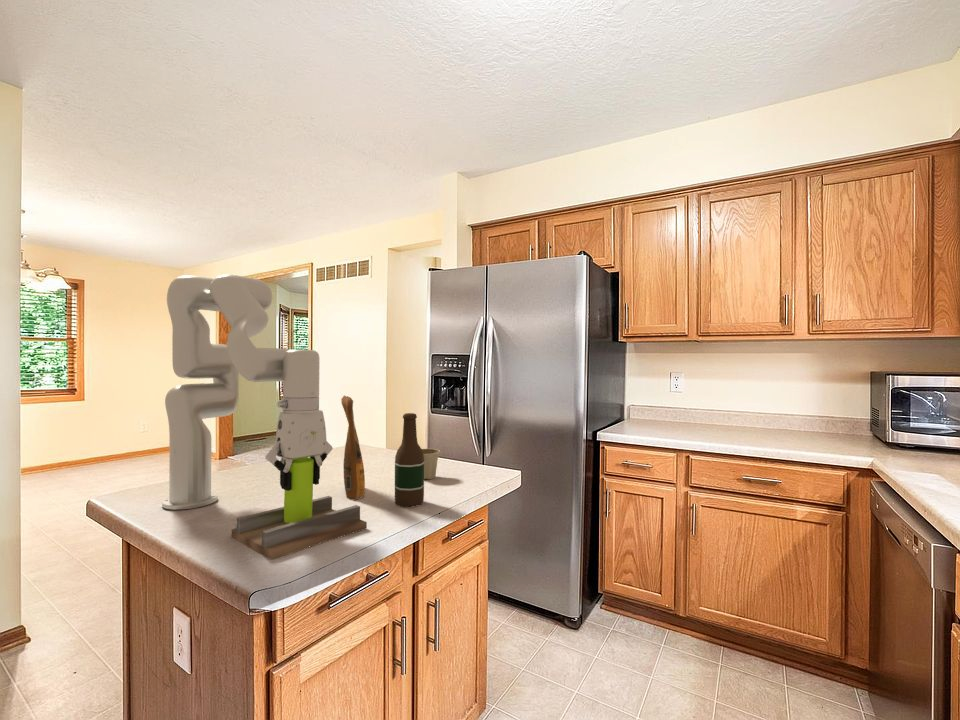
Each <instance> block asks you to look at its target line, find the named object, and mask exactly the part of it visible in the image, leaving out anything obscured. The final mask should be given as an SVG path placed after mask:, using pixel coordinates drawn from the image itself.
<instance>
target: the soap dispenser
mask: <svg viewBox="0 0 960 720" xmlns="http://www.w3.org/2000/svg"><path fill="white" fill-rule="evenodd" d="M314 433H317V432H314V431H312V432H311V434H314ZM313 467H314V459H311V458H309V457H305V458H299V459H293V461H292V463H291V466H290V469H289V472H291V473H292V487H291V490H290V491H287V490H284V498H283V499H284V501H283V507H284V522H286V523H293V522H297V521H300V520H304V519H308V518H311V517H312V502H313V500H314V499H313V498H314V497H313V496H314V495H313V494H314V484H313Z"/></svg>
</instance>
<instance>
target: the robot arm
mask: <svg viewBox="0 0 960 720" xmlns="http://www.w3.org/2000/svg"><path fill="white" fill-rule="evenodd" d="M272 301H273V293H272V289H271V288H270V286H269V285H268V284H267V283H266V282H265V281H263V280H262V279H258V278H253V277H247V276H242V275H238V274H221V275H218V276H216V277H215V278H211V277H205V276H198V275H181V276H178V277H176V278H174V279H173V280H172V281H171V282H170V283H169V286H168V289H167V294H166V304H167V309H168V313H169V318H170V320H171V326H172V328H171V329H172V335H171V337H172V338H171V339H172V340H171V341H172V342H171V343H172V344H171V345H172V353H171V355H172V357H171V358H172V360H171V361H172V369H173V373H174V374H175V375H176V377H178V378H181V379H191V380H192V379H193V380H194V379H197V380H199V379H212V382H211V383H205V382H204V383H203V382H202V383H185V384H179V385H176V386H174V387H172V388H171V389H169V391H167V393H166V395H165V399H164V406H165V410H166V415H167V420H168V421H167V422H168V433H169V464H168V465H169V470H168V471H169V479H168V481H169V483H168V485H169V489H168V492H169V495H168V498H165V499H164V500H163V501H162V502H161V507H162V508H163V509H166V510H172V511H173V510H176V511H177V510H189V509H197V508H201V507H206V506H208V505H212V504H214V503H215V502H217V501H218V499H219V498H218V497H219V496H218V494H217V493H215V492H212V433H211V431H210V429H209V428H208V427H207V425H206V423H205V422H204V421H203V420H205V419H214V418H221V417H222V418H223V417H229V416H230V415H232V414H234V412H236V410H237V409H238V405H239V398H240V397H239V385H240V384H239V382H240V381H239V379H240V377H239V376H242V377H243V378H244V379H245V380H247V381H249V382H253V383H265V382H270V383H271V382H282V384H283V385H282V398H281V400H279V401H277V404H276V406H277V408H278V409H280V408H281V410H282V411H280V412H279V416H278V419H277V424H276V431H275V432H276V433H275V443H274V446H273V447H272V448H271V449H270V450H269V451H268V452H267V454H266V455H265V460H266V461H268V462H269V463H271V464H272V466H274V467H275V468H276V469H277V470H278V472H279V484H280V487H281V489H282V490H283V491H285V490H287V491H290V490H291V487H292V473H291V472H289V469H290V466H291V463H292V461H293V459H299V458H305V457H308V458H311V459H314V467H313V485H315V486H316V485H320V484H319V483H320V479H321V466H322V465H323V463H324V461H325V460H326V459H327V458H328V455H329V454H330V453H331V452H332V451H333V449H334V447H333V446H332V444H330V443H329V442H328V441H327V429H326V428H327V427H326V421H325V416H324V412H323V410H322V409H320V354H319V352H318V351H316V350H314V349H292V348H291V349H289V348H275V347H274V348H272V347H256V346H255V344H254V343H253V342H252V340H251V338H253V337H255V336H256V335H258V334H260V333H261V332H262V331H264V330H265V328H266V327H267V325H268V323H269V315H268V314H267V311H266V310H268V309H269V308H270V306H271V304H272ZM201 310H203V311H210V312H221V314H222V316H223V317H224V318H225V320H226V321H227V323H228V325H229V326H230V330H229V333H228V336H227V341H226V342H227V343H226V344H223V343H221V344H220V343H211V340H210V339H211V338H210V336H211V334H210V333H211V329H210V328H211V327H210V325H209V322H208V321H207V319H206V318H205V316H204V315H203V314H202V313H201V312H200V311H201ZM239 374H240V375H239ZM312 431H314V432H317V433H314V434H311V432H312ZM277 457H280V460H279V459H278V458H277Z"/></svg>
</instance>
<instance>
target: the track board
mask: <svg viewBox="0 0 960 720" xmlns="http://www.w3.org/2000/svg"><path fill="white" fill-rule="evenodd" d="M367 524H368V523H367V520H366V521H365V520H363V519H361V506H359V505H356V504H355V505H352V506H347V507H345V508H342V509H337V510H335V509H333V497H332V496H330V495H328V496H322V497H318V498H314V499H313V502H312V517H311V518H308V519H304V520H300V521H297V522H293V523H286V522H284V506H281V507H277V508H273V509H269V510H266V511H260V512H257V513H253V514H248V515H245V516H241V517H236V528H233V529H231V538H234V539H236V541H239V542H240V543H242V544H244V545H245V546H247V547H249V548H250V549H253V550H255V551H256V552H258V553H259V554H261V555H263V556H265V557H266V558H269V559H270V560H274V559H277V558H281V557H284V556H286V554H287V555H290V554H293V553H295V552H299V551H302V550H305V549H308V548H310V547H309V546H311V547H314V546H317V545H316V544H318V545H320V544H319V543H321V544H323V542H324V543H326V542H325V541H327V542H329V540H330V541H333V540H336V539H339V538H341V536H342V537H344V535H345V536H348V535H351V534H353V532H354V533H357V532H360V531H363V530H362V529H364V530H365V529H366V528H367ZM367 529H368V528H367ZM367 529H366V530H367ZM359 530H360V531H359ZM356 531H357V532H356ZM350 533H351V534H350ZM347 534H348V535H347ZM338 537H339V538H338ZM335 538H336V539H335ZM332 539H333V540H332ZM313 545H314V546H313ZM307 547H308V548H307ZM304 548H305V549H304ZM301 549H302V550H301ZM298 550H299V551H298ZM289 553H290V554H289Z"/></svg>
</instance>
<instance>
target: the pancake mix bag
mask: <svg viewBox="0 0 960 720" xmlns="http://www.w3.org/2000/svg"><path fill="white" fill-rule="evenodd" d="M340 401H341V405H342V408H343V411H344V414H345V417H346V421H347V424H348V427H347V433H346V440H345V445H344V454H343V455H344V456H343V483H344V490H345V496H346V499H348V498H350V499H349V500H353V499H355V500H356V501H357V500H358V499H361V498H360V497H362V498H363V497H364V496H363V495H364V494H365V491H366V489H365V488H366V482H365V481H366V478H365V467H364V460H363V456H362V451H361V447H360V441H359V437H358V432H357V429H356V425H355V416H354V409H353V408H354V407H353V406H354V400H353V398H352V397H350V396H346V395H345V394H344V395H343V396H342V397H341V399H340ZM355 500H354V501H355Z"/></svg>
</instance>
